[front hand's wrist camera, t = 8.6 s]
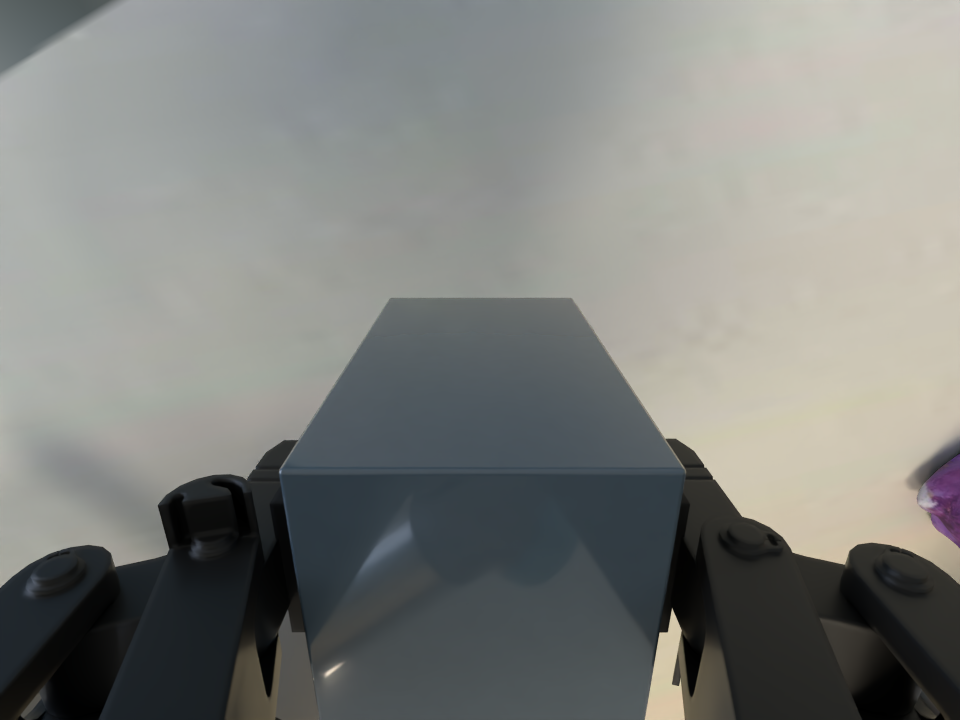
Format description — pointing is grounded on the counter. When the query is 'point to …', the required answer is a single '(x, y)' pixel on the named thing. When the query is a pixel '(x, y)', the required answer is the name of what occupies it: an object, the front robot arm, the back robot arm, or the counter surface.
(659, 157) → the counter surface
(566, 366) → the brick
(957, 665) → the front robot arm
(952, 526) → the figurine
